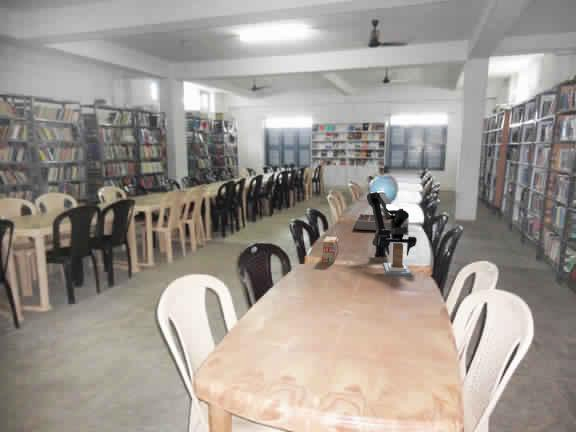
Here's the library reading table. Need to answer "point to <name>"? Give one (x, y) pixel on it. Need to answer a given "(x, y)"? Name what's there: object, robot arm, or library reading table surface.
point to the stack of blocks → (330, 249)
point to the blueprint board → (397, 270)
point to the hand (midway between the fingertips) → (398, 255)
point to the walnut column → (397, 255)
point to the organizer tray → (369, 222)
